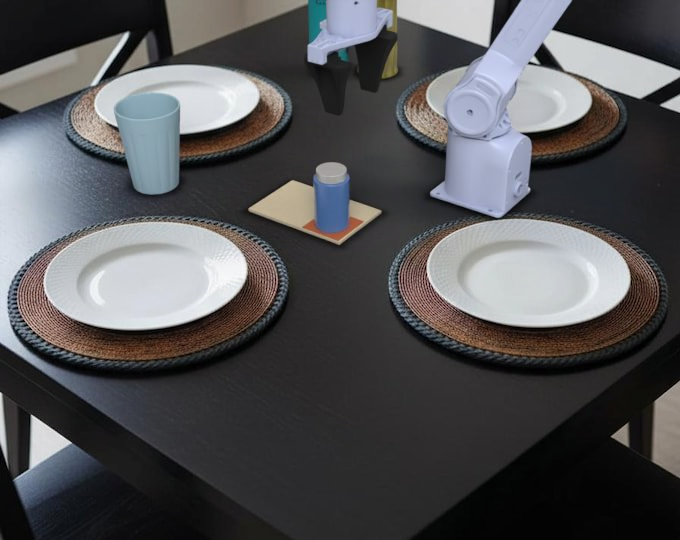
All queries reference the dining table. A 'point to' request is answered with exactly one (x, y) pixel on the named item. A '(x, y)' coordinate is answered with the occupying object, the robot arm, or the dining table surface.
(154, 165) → the cup
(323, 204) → the salt shaker
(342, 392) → the dining table surface
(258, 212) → the place mat
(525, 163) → the robot arm
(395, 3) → the vase
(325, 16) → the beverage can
